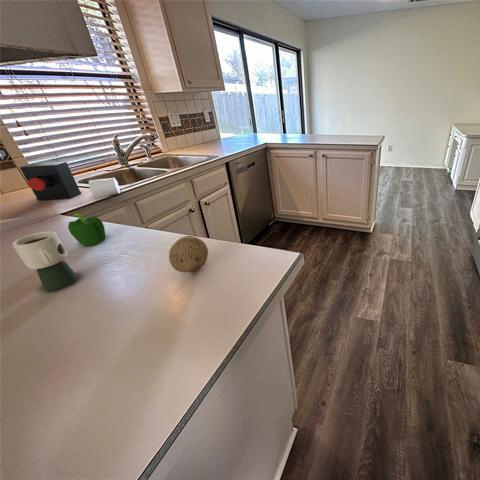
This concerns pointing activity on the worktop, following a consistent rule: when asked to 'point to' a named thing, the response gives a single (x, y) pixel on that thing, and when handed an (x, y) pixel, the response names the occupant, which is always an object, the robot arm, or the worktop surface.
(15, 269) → the worktop surface
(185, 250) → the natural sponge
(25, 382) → the worktop surface
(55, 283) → the character mug
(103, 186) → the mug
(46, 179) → the knob
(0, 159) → the robot arm
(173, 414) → the worktop surface
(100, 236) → the bell pepper
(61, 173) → the control box
